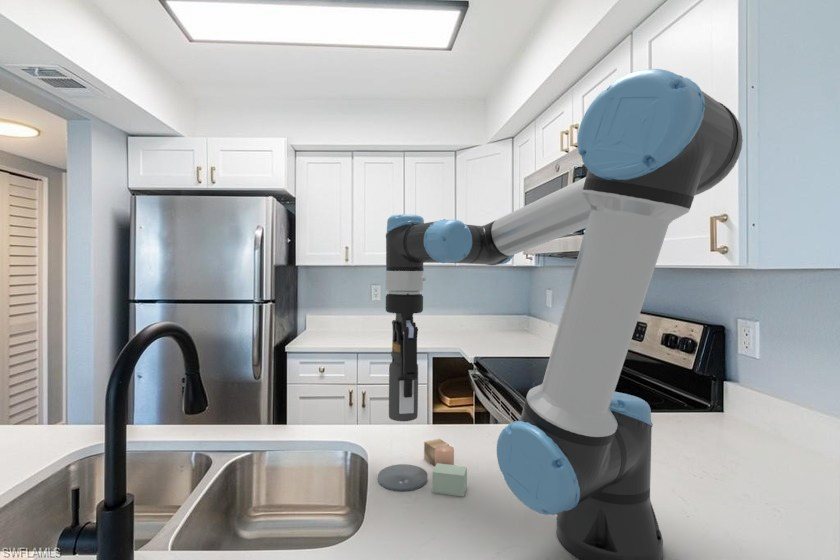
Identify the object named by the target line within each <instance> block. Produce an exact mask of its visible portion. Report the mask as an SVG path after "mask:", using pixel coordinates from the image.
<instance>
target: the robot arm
mask: <svg viewBox="0 0 840 560" xmlns="http://www.w3.org/2000/svg"><path fill="white" fill-rule="evenodd" d="M743 141H744V139H743V133H742V126H741V124H740V122H739V120H738V118H737V117H736V115H735V114H734V112H732V110H730V108H729V107H727V106H726V105H724V103H721V102H719V101H717V100H716V99H714V98H713V97H711V96H710V95H708V94H707V93H706V92H704V91H703V90H702V89H701V88H700V86H699V85H698V84H697V83H696V82H694V81H693V80H692V79H691V78H688V77H686V76H682V75H679V74H677V73H674V72H673V71H670V70H667V69H661V68H647V69H642V70H637V71H633V72H630V73H628V74H625V75H624V76H622V77H620V78H618V79H617V80H615V81H613V82H612V84H611V85H609V86H608V87H607V88H605V89H604V90H602V91H601V92H600V93H599V94H598V95H597V96H596V97H595V98H594V99H593V101H592V102H591V103H590V104H589V106H588V108H587V110H586V111H585V113H584V115H583V117H582V120H581V121H580V124H579V128H578V132H577V150H578V154H579V155H580V156H581V159H582V160H581V161H582V163H583V164H584V167H585V168H586V169H587V172H586V176H585V177H583V178H581V179H579V180H576V181H575V182H572V183H571V184H568V185H566V186H564V187H562V188H560V189H558V190H556V191H554V192H551V193H549V194H547V195H545V196H543V197H541V198H539V199H537V200H534V201H533V202H531V203H528V204H526V205H524V206H522V207H521V208H518V209H516V210H514V211H511V212H510V213H508V214H506V215H504V216H501V217H499V218H497V219H495V220H494V221H491V222H489V223H486V224H485V225H484V224H483V225H474V224H466V223H464V222H463V221H461V220H458V219H439V220H435V221H430V222H425V220H424V217H422V216H421V215H419V214H418V215H417V214H407V213H406V214H405V213H404V214H394V215H391V216H389V217H388V218H387V221H386V233H385V251H386V252H385V270H386V271H385V291H387V292H388V293H387V294H386V295H385V312H387V313H389V314H395V319H393V320H392V322H391V324H392V343H393V342H396V341H397V344H398V345H400V361H401V377H398V378H397V379H398V381H400V396H399V413H400V414H406V413H414V380H415V379H417V364H418V332H419V328H418V326H416V322H414V314H421V313H423V311H424V295H423V294H421V292H422V291H423V290H424V282H425V281H427V280H426V279H427V278H426V276H424V263H425V264H426V263H428V264H431V263H432V264H434V263H437V264H439V263H441V264H467V265H469V264H470V265H472V264H473V265H474V264H475V265H488V266H497V265H504V264H507V263H509V262H510V261H511V260H512V259H513V258H514V256H515V255H517V254H520V253H522V252H525V251H528V250H531V249H532V248H535V247H538V246H541V245H544V244H546V243H549V242H551V241H554V240H556V239H560V238H562V237H564V236H568V235H570V234H572V233H576V232H578V231H581V230H583V229H584V233H583V236H582V240H581V244H580V248H579V250H578V255H577V258H576V260H575V261H576V262H575V266H574V268H573V273H572V277H571V280H570V283H569V287H568V290H567V293H566V297H565V302H564V304H563V308H562V312H561V317H560V318H559V322H558V327H557V331H556V334H555V336H554V340H553V341H554V342H553V344H552V348H551V352H550V356H549V357H548V358H549V359H548V363H547V364H546V365H547V366H546V370H545V373H544V377H543V381H542V383H541V384H539V385H536V386H534V387H532V388H530V389H529V390H528V391H527V394H526V397H525V401H524V404H523V408H522V410H521V411H522V412H521V416H520V418H519V419H518V420H514V421H512V422H510V423H508V424H507V425H506V426H505V427H504V428H503V429H502V430H501V431H500V433H499V435H498V438H497V442H496V458H497V464H498V466H499V467H498V468H499V470H500V472H501V474H502V475H503V478H504V479H503V480H504V481H505V484H506V485H507V487H508V488H509V490H510V491H511V492H512V493H513V495H514V496H515V497H516V498H517V499H518V500H519V501H520V502H521V503H522V504H523V505H525V506H526V507H527V508H528V509H530V510H531V511H534V512H535V513H539V514H541V515H549V516H550V515H551V516H552V515H556V525H555V526H556V535H557V539H558V540H559V541H560V543H561V545H562V546H563V547H564V548H565V549H566V550H567V551H569V552H570V553H571V554H572V555H574V556H575V557H576V558H578V559H580V560H663V558H664V539H663V535H662V533H661V532H662V531H661V530H660V526H659V522H658V520H657V517H656V514H655V509H654V507H653V504H652V502H651V470H652V469H651V467H652V463H651V462H652V431H653V429H652V428H653V426H654V425H653V422H652V411H651V407H650V404H649V403H648V402H647V401H645V400H644V399H642V398H641V397H638V396H635V395H631V394H628V393H625V392H624V393H623V392H618V391H616V388H617V385H618V383H619V379H620V376H621V373H622V370H623V366H624V363H625V361H626V358H627V354H628V351H629V348H630V345H631V342H632V338H633V335H634V333H635V329H636V327H637V325H638V324H637V323H638V320H639V318H640V314H641V311H642V309H643V305H644V301H645V299H646V296H647V294H648V293H647V292H648V289H649V287H650V283H651V280H652V277H653V275H654V272H655V268H656V266H657V262H658V260H659V259H658V258H659V255H660V254H661V249H662V247H663V244H664V240H665V237H666V234H667V231H668V228H669V225H670V224H671V223H672V222H673V221H676V220H677V219H679V218H681V217H682V216H684V215H686V214H688V213H689V212H690V210H691V208H692V204H693V201H694V198H695V196H697V195H700V194H703V193H705V192H706V191H708V190H711V189H712V188H714V187H715V186H716V185H718V184H719V183H720V182H721V181H723V180H724V179H726V177H727V176H728V175H729V174H730V173H731V172H732V170H733V169H734V167H735V166H736V164H737V162H738V159H739V157H740V155H741V152H742V147H743ZM391 347H392V348H391V349H392V351H394V349H393V344H391ZM392 351H391V352H392ZM393 361H394V357H392V356H391V363H392V362H393ZM408 372H411V373H408Z"/></svg>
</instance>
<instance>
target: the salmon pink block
mask: <svg viewBox="0 0 840 560" xmlns="http://www.w3.org/2000/svg"><path fill="white" fill-rule="evenodd" d="M437 463H440V464H448V465H455V448H454V447H453V446H451V445H449V446H448V445H439V446H437V447H435V466H436V464H437ZM435 466H434V467H435Z"/></svg>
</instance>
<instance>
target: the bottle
mask: <svg viewBox="0 0 840 560" xmlns="http://www.w3.org/2000/svg"><path fill="white" fill-rule="evenodd" d="M392 344H393V349H394V351H391V352H390V355H391V358H392V357H394V361H393V362H392V361H391V362H390V364H389V365H388V367H389V368H388V417H389V419H390V420H391V421H396V422H410V421H411V422H412V421H414V420H416V419H418V416H419V415H418V413H419V411H418V410H419V364H418V363H417V379H415V380H414V413H406V414H400V413H399V396H400V381H398V379H397V378H398V377H401V361H400V345H398V344H397V341H396V342H393V343H392ZM392 344H391V345H392ZM408 373H411V372H408Z"/></svg>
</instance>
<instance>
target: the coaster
mask: <svg viewBox="0 0 840 560" xmlns="http://www.w3.org/2000/svg"><path fill="white" fill-rule="evenodd" d="M428 478H429V475H428V472H427V471H426V470H425V469H424V468H422V467H420V466H417V465H414V464H405V463H402V464H401V463H400V464H393V465H392V464H391V465H389V466H385V467H384V468H383V469H381V470H380V471H379V472H378V474H377V482H378V484H379V485H380V487H383V488H385V489H386V490H389V491H394V492H410V491H415V490H419V489H421V488H422V487H423V488H424V486H425V485H426V484H427V483H428V480H429V479H428Z"/></svg>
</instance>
